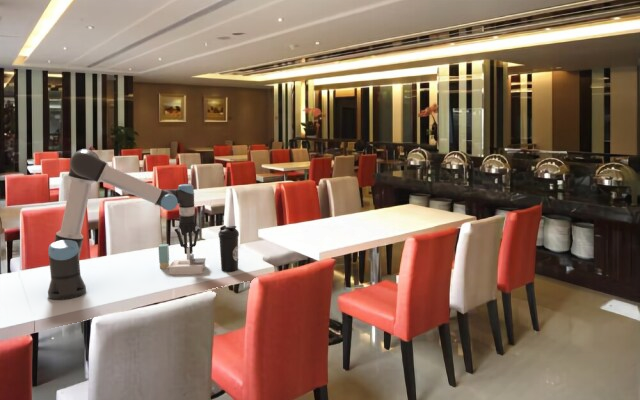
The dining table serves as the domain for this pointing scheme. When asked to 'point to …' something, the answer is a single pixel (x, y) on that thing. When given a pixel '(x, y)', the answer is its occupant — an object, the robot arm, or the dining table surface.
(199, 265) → the socket block
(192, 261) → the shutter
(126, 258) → the dining table surface
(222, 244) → the water bottle
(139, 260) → the dining table surface
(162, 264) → the teal block
